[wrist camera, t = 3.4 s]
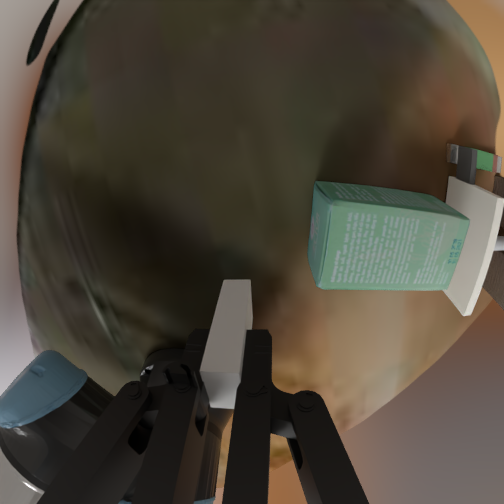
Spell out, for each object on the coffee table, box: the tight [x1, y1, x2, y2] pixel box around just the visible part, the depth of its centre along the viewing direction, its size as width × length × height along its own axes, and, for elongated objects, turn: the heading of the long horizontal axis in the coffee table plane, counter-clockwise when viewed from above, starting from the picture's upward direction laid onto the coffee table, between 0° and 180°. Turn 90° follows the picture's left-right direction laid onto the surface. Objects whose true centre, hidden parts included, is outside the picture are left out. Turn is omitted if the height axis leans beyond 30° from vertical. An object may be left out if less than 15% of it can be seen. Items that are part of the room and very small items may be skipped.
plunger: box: [443, 145, 504, 316], centre depth 20 cm, size 13×16×8 cm
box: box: [307, 181, 470, 290], centre depth 22 cm, size 7×14×8 cm, turn 89°
